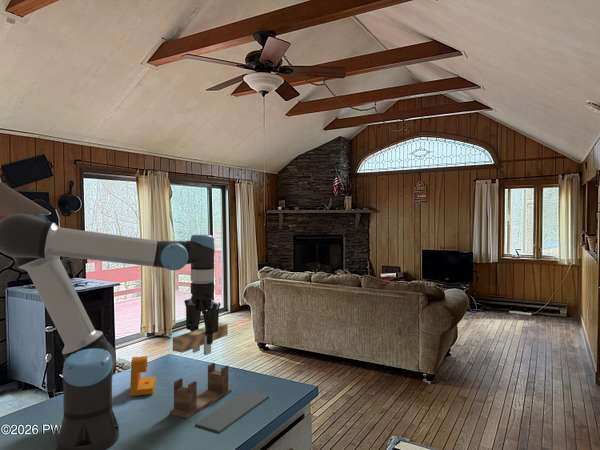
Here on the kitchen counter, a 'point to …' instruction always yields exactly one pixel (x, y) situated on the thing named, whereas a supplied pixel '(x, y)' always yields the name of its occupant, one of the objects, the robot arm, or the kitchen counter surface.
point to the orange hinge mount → (137, 383)
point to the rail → (196, 338)
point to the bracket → (193, 403)
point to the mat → (231, 411)
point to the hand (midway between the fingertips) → (201, 352)
